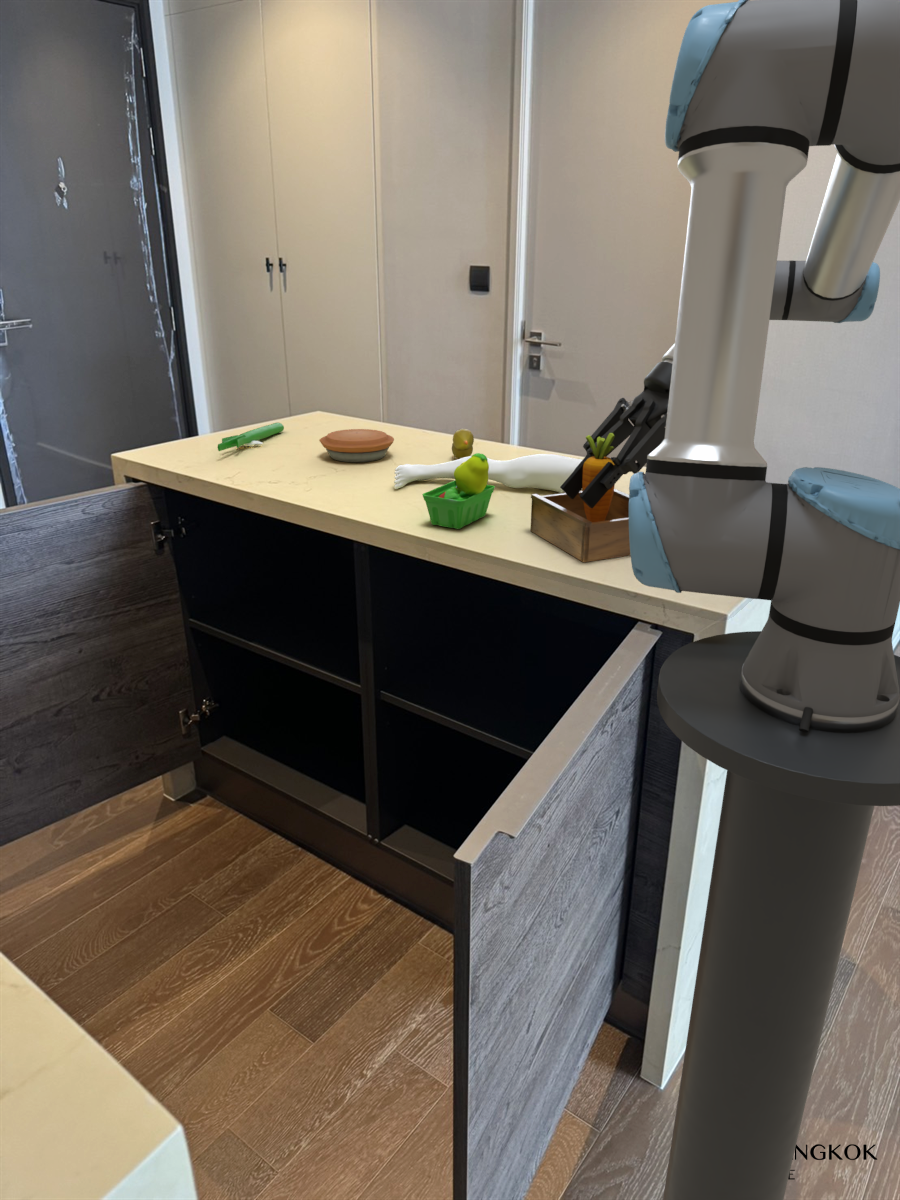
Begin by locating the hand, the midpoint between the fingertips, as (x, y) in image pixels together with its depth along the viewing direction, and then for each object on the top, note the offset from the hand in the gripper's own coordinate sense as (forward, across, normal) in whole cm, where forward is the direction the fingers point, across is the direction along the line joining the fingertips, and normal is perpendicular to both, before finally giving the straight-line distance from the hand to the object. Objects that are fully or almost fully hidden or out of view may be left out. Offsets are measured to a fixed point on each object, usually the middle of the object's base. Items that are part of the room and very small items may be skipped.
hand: (576, 497), depth 126 cm
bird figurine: (0, +56, -10) cm, 57 cm away
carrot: (+2, 0, -7) cm, 7 cm away
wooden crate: (+2, 0, -8) cm, 8 cm away
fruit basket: (+13, +17, +2) cm, 21 cm away
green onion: (+26, +86, +16) cm, 91 cm away
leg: (+3, +34, -7) cm, 34 cm away
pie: (+13, +67, +4) cm, 68 cm away
